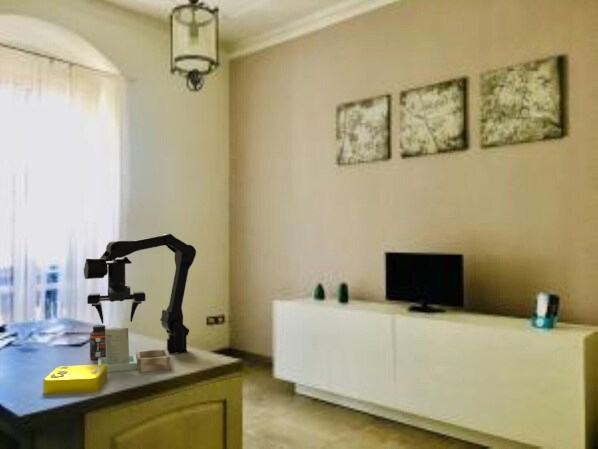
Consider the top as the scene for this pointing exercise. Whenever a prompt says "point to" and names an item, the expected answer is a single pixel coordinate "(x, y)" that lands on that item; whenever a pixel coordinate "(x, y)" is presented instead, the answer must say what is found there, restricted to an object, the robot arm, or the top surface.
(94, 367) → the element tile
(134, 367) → the tray
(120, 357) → the skincare box
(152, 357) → the frame
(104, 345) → the supplement bottle
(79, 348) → the top surface
